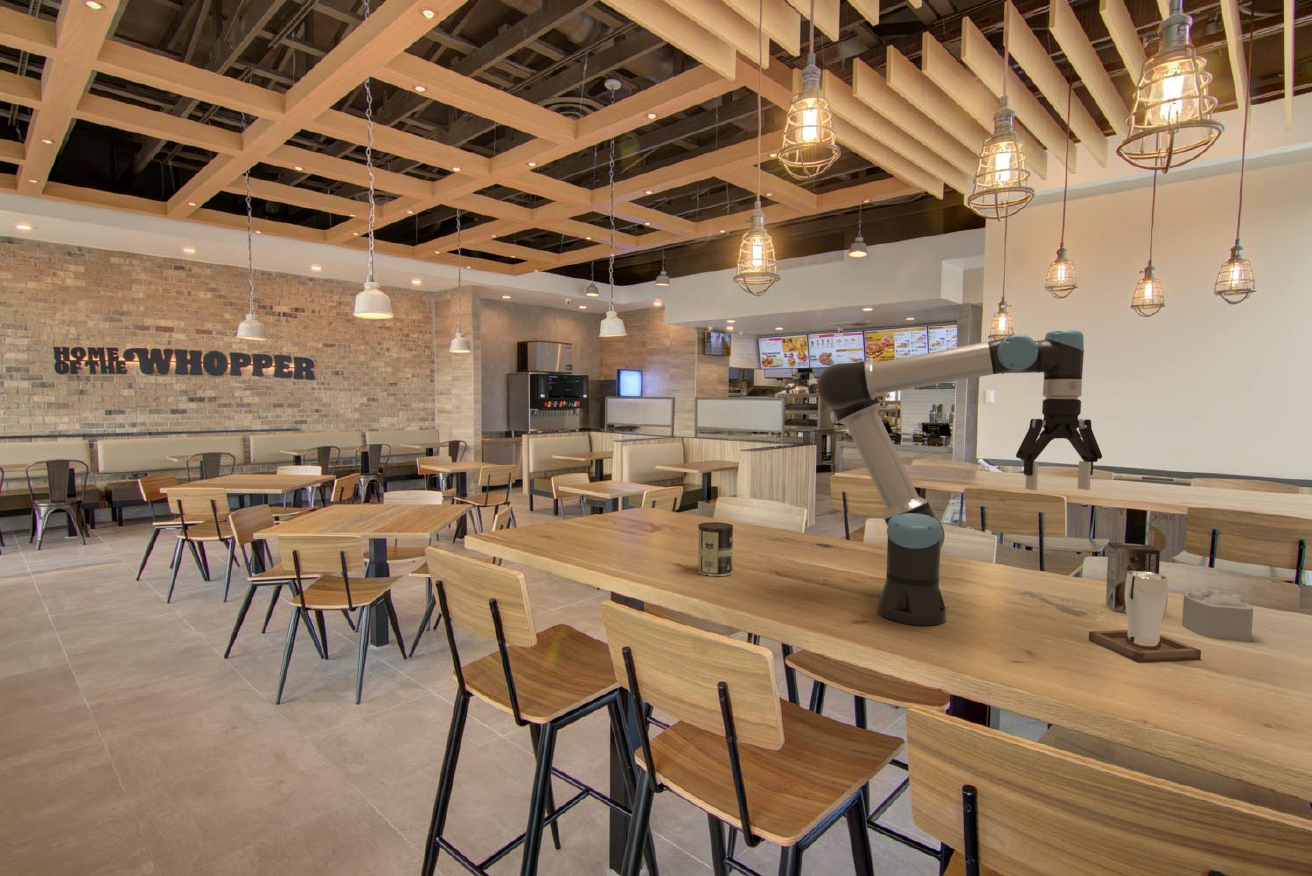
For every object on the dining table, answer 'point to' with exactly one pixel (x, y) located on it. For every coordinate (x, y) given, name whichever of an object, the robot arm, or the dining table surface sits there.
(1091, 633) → the tray
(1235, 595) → the lumpy-topped squat cylinder
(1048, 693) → the dining table surface
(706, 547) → the coffee can
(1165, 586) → the beer glass
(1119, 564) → the coffee box
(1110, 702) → the dining table surface
